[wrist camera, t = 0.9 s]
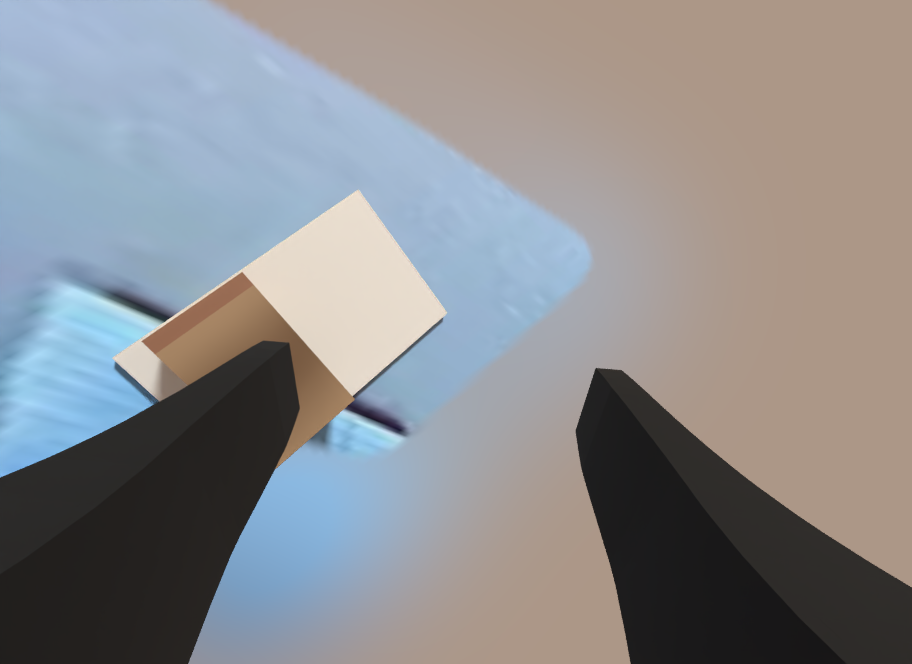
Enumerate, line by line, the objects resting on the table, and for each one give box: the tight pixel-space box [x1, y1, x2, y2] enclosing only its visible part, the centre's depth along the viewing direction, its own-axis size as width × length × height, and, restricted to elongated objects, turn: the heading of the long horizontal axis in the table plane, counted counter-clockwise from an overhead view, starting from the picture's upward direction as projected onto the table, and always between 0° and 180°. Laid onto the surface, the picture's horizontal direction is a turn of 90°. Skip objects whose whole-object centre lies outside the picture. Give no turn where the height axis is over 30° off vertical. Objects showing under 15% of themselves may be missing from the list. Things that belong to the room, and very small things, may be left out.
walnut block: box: [141, 272, 355, 469], centre depth 18 cm, size 7×4×4 cm, turn 37°
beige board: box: [113, 190, 447, 401], centre depth 21 cm, size 13×8×1 cm, turn 127°
